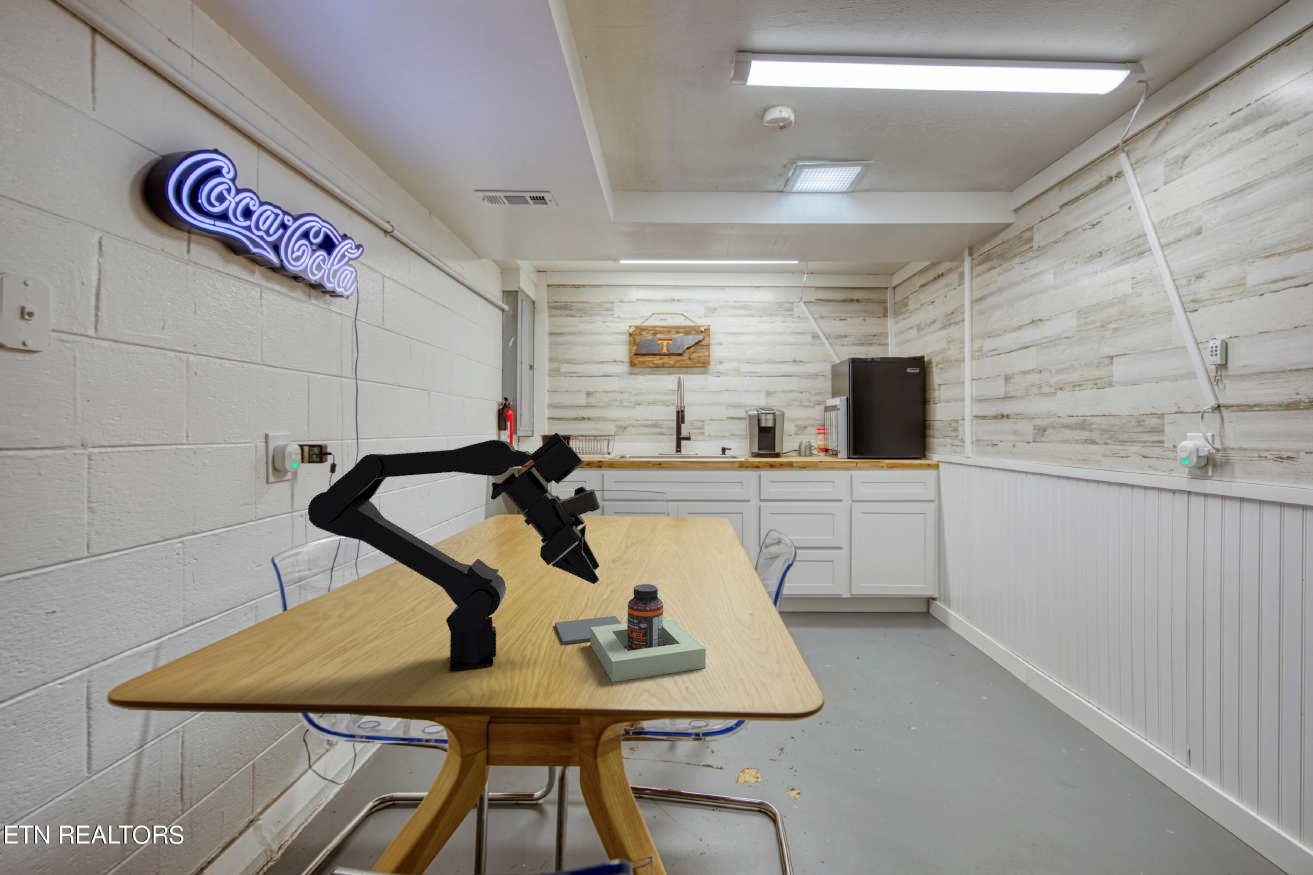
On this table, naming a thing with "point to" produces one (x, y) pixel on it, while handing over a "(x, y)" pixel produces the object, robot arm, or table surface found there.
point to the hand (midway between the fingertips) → (597, 574)
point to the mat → (581, 628)
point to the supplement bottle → (645, 618)
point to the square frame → (646, 652)
